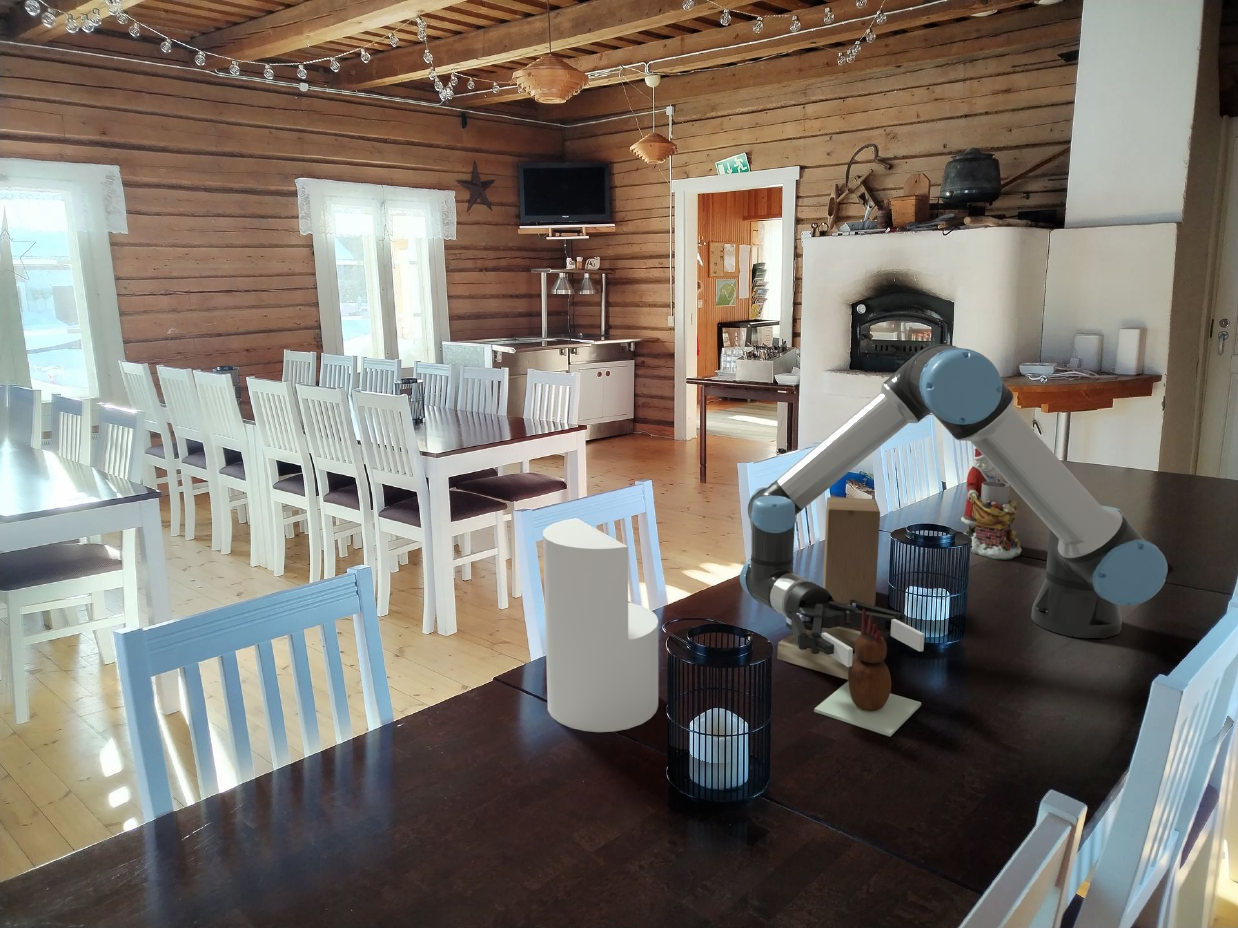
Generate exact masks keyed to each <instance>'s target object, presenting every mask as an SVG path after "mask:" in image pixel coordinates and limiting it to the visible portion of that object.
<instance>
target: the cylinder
mask: <svg viewBox="0 0 1238 928" xmlns="http://www.w3.org/2000/svg"><path fill="white" fill-rule="evenodd" d="M542 541H543V542H542V543H543V545H542V546H543V550H542V551H543V581H544V617H545V618H544V619H545V656H546V657H545V659H546V660H545V661H546V688H547V689H546V690H547V692H546V693H547V694H546V696H547V698H546V699H547V711H548V713H549V715H550V716H551V718H552V719H554V720H555V721H556V722H558V723H559V724H561V725H564V726H565V727H568V728H570V729H573V730H579V731H583V732H592V733H593V732H594V733H607V732H609V733H610V732H618V731H623V730H629V729H631V728H634V727H637V726H640V725H643V724H644V723H646V722H647V721H649V720H650V719H651V718H652V717H653V716H654V715H655V714H657V710H658V708H659V618H658V616H657V614H655V613H654V612H653V611H652V610H651V609H649V608H646V607H645V606H643V605H639V604H636V603H632V602H629V546H628V545H626V544H624V543H622V542H620V541H619V540H617V539H615V538H613V537H611V536H610V535H608V534H606V533H604V532H603V531H601V530H600V529H597V528H595V527H594V526H592V525H590V524H589V523H586V522H585V521H583V520H581V519H579V518H578V517H574V518H568V519H564V520H560V521H557V522H554V523H552V524H549V525H548V526H546V527H545V528H544V529H543V530H542Z"/></svg>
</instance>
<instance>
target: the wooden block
mask: <svg viewBox="0 0 1238 928" xmlns="http://www.w3.org/2000/svg"><path fill="white" fill-rule="evenodd" d="M825 506H826V507H825V532H824V533H825V534H824V553H823V554H824V555H823V558H824V559H823V575H822V576H823V578H822V588H824V589H826V590H827V591H828V592H829V593H830V594H831V596H832V598H833V599H834V601H835V602H838V603H841V604H843V605H850V600H853V599H854V600H857V601H859V602H861V603H864V604H868V605H872V606H876V595H877V594H876V593H877V577H878V558H879V543H880V542H879V540H880V526H881V525H880V524H881V521H880V520H881V511H880V508H879V505H878V502H877V500H876V499H875V498H862V497H860V498H858V497H857V498H855V497H836V496H835V497H831V496H828V497H827V498H826V505H825Z"/></svg>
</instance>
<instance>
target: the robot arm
mask: <svg viewBox="0 0 1238 928" xmlns="http://www.w3.org/2000/svg"><path fill="white" fill-rule="evenodd" d="M1014 403H1015V394H1014V393H1013V392H1012V391H1011V390H1010V388H1009V387H1008V386H1007V385H1006V383H1005V382H1003V380H1002V378H1001V375H1000V373H999V371H998V369H997V367H996V365H995V364H994V363H993V362H992V361H991V360H990V359H989V358H988V357H987V356H985V355H984V354H982V353H980V352H977V351H976V350H973V349H969V348H965V347H964V348H962V347H958V346H955V345H953V344H947V343H940V344H933V345H931V346H928V347H926V348H923V349H922V350H920V351H918V352H917V353H916V354H915V355H913V356H912V357H911V358H910V359H909V360H907V361H906V362H905V363H904V364H903V365H901V366H900V368H898V369H897V370H896V371H895V372H894V373H893V374H891V375H890V376H889V377H888V378H887V379H886V380H884V381H883V383H882V384H881V387H880V392H879V393H878V394H877V395H876V396H874V397H873V398H872V399H870V400H869V401H868V402H867V403H866V404H864V406H863V407H861V408H860V409H859V410H857V411H856V413H854V414H853V415H852V416H850V417H849V418H848V419H847V420H846V421H844V422H843V423H842V424H841V425H840V426H838V427H837V428H836V429H835V430H834V431H832V432H831V434H829V435H828V436H827V437H826V438H824V439H823V440H822V441H821V442H819V443H818V444H817V445H816V446H814V448H812V449H811V450H810V451H809V452H808V453H807V454H805V455H804V456H803V457H802V458H800V459H799V460H798V461H797V462H796V463H795V464H793V465H792V466H791V467H790V468H788V469H787V470H786V471H785V472H784V473H783V474H781V475H780V476H779V477H778V478H776V480H775V481H773V482H772V483H771V484H769V485H768V486H766V487H762V488H759V489H757V490H755V491H754V492H753V493H752V495H751V496H750V498H749V501H748V503H747V514H748V518H749V523H750V529H751V530H750V531H751V539H750V540H751V541H750V542H751V544H750V545H751V554H750V558H749V559H748V560H747V561H745V563H743V567H742V569H741V571H740V572H739V582H740V585H741V587H742V589H743V590H744V592H745V593H747V594H748V595H749V596H751V598H752V599H753V600H755V601H757V602H758V603H762V604H763V605H765V606H767V607H768V608H770V609H772V610H773V612H774V611H775V612H777V613H778V614H779V615H782V616H783V617H785V626H786V628H788V630H790V631H791V634H792V633H793V635H794V638H795V640H796V643H797V645H798V647H799V649H801V650H806V649H807V648H810V649H811V653H812V654H819V651H820V652H823V653H825V654H827V655H830V656H831V657H833V658H834V659H836V660H837V661H839V662H841V663H842V664H844V665H845V666H847V667H850V666H852V655H853V654H854V653H853V651H854V649H853V648H851V647H849V646H847V645H846V644H844V643H842V642H841V641H839V640H837V639H836V638H834V637H832V636H831V635H829V634H827V633H826V632H825V633H822V628H828V629H829V628H833V627H844V628H849V629H854V628H855V627H857V628H861V625H862V613H863V609H865V612H866V617H867V622H868V621H869V617H870V615H872V621H873V625H874V624H876V625H877V631H879V630H880V632H884V633H889V634H890V637H892V638H894V639H896V640H897V641H899V642H900V643H903V644H905V645H906V646H909V647H910V648H912V649H914V650H916V651H918V652H924V645H925V633H923V632H921V631H920V630H917V629H916V628H915V627H912V626H910V625H908V624H906V614H905V613H901V612H899V611H895V610H891V609H888V608H883V607H879V606H876V605H874V606H872V605H868V604H864V603H861V602H859V601H857V600H854V599H853V600H850V605H843V604H841V603H838V602H835V601H834V599H833V598H832V596H831V594H830V593H829V592H828V591H827V590H826V589H824V588H823V586H820V585H818V584H816V583H815V582H813V581H812V580H809V579H807V578H805V577H803V576H801V575H799V574H797V573H796V572H794V558H795V557H794V548H795V547H794V546H795V531H796V530H795V528H796V522H797V518H796V516H797V515H798V514H799V513H801V512H802V511H803V510H804V509H805V508H806V507H808V506H809V505H810V504H812V502H814V501H815V500H817V499H818V498H819V497H820V496H821V495H822V494H824V493H825V492H826V491H827V490H828V489H830V488H831V487H832V486H833V485H835V484H836V483H837V482H839V480H840V479H842V478H843V477H844V476H845V475H847V474H848V473H849V472H851V471H852V470H853V469H854V468H855V467H857V466H858V465H859V464H860V463H861V462H863V461H864V460H865V459H866V458H868V457H869V456H870V455H872V454H873V453H874V452H875V451H876V450H877V449H879V448H880V447H881V446H882V445H884V444H885V443H886V442H887V441H888V440H889V439H891V438H892V437H893V436H895V435H896V434H897V433H898V432H899V431H901V430H902V429H903V428H905V426H907V425H908V424H918V423H920V422H921V421H922V420H923V419H925V418H926V417H927V416H929V415H930V414H933V416H934V417H935V418H936V419H937V420H938V422H940V424H941V425H942V426H943V427H944V428H945V429H946V430H947V431H948V432H949V434H951V436H952V437H953V438H954V439H955V440H956V441H963V442H964V441H965V442H971V444H972V446H974V448H977V449H978V450H979V451H980V452H981V454H982V455H983V456H984V457H985V458H986V459H987V460H988V461H989V462H990V463H991V465H992V466H993V467H994V468H995V469H996V470H997V471H998V472H999V475H1000V476H1001V477H1003V479H1004V480H1005V481H1006V482H1007V484H1009V485H1010V487H1012V489H1013V490H1014V491H1015V492H1016V493H1017V494H1018V495H1019V497H1020V498H1021V499H1022V500H1023V501H1024V502H1025V503H1026V504H1027V505H1028V507H1029V508H1030V509H1031V510H1032V511H1033V512H1034V513H1035V514H1036V516H1037V517H1038V518H1039V519H1040V520H1041V521H1043V523H1044V524H1045V525H1046V527H1047V528H1049V534H1048V544H1047V545H1048V546H1047V555H1046V556H1047V557H1046V567H1045V568H1046V569H1045V577H1044V582H1043V584H1042V585H1041V587H1040V590H1039V591H1038V594H1037V596H1036V598H1035V600H1034V602H1033V604H1032V607H1031V620H1032V621H1033V622H1034V623H1035V624H1036V625H1038V626H1039V627H1041V628H1043V629H1045V630H1048V631H1049V632H1053V633H1056V634H1059V635H1062V636H1067V637H1072V636H1073V637H1072V638H1079V639H1080V638H1081V639H1089V638H1102V639H1106V638H1105V637H1110V636H1114V635H1116V634H1118V633H1119V632H1120V630H1121V631H1122V625H1123V624H1122V622H1123V620H1122V619H1123V618H1122V615H1121V610H1120V606H1122V607H1123V606H1125V607H1127V606H1130V607H1131V606H1132V607H1133V606H1136V605H1140V604H1143V603H1145V602H1147V601H1149V600H1150V599H1152V598H1153V597H1155V596H1156V595H1157V594H1158V593H1159V591H1160V590H1162V588H1163V586H1164V585H1165V583H1166V578H1167V574H1168V568H1169V566H1168V562H1167V559H1166V556H1165V554H1163V552H1162V551H1161V550H1160V549H1159V547H1158V546H1157V545H1156V544H1154V543H1152V542H1151V541H1148V540H1146V539H1145V538H1144V537H1143V536H1142V535H1141V534H1140V533H1139V532H1138V531H1137V530H1136V529H1135V527H1133V526H1132V525H1131V523H1130V522H1129V521H1128V519H1126V518H1125V516H1124V513H1123V511H1122V509H1120V508H1117V507H1113V506H1106V505H1101V504H1100V503H1099V502H1098V501H1097V500H1096V499H1095V497H1093V495H1092V494H1091V493H1090V492H1089V491H1088V490H1087V489H1086V487H1085V486H1084V485H1083V484H1082V483H1081V482H1080V481H1079V480H1078V479H1077V477H1076V476H1074V474H1073V473H1072V472H1071V471H1070V470H1069V468H1067V466H1066V465H1065V464H1064V463H1063V462H1062V461H1061V460H1060V458H1058V456H1057V455H1056V454H1055V453H1054V452H1053V450H1051V448H1049V446H1048V445H1047V444H1046V443H1045V442H1044V441H1043V440H1042V439H1041V438H1040V437H1039V435H1038V434H1037V433H1036V432H1035V431H1034V429H1032V428H1031V427H1030V425H1029V424H1028V423H1027V422H1026V421H1025V419H1024V418H1023V417H1022V416H1021V415H1020V414H1019V413H1018V412H1017V410H1015V408H1014ZM847 614H849V620H848V621H847V616H848V615H847ZM806 630H812V635H807V632H806ZM821 633H822V635H821ZM1120 633H1121V632H1120ZM1120 633H1119V634H1120ZM1119 634H1118V635H1119ZM1116 636H1117V635H1116ZM1114 637H1115V636H1114ZM1110 638H1111V637H1110Z"/></svg>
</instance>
